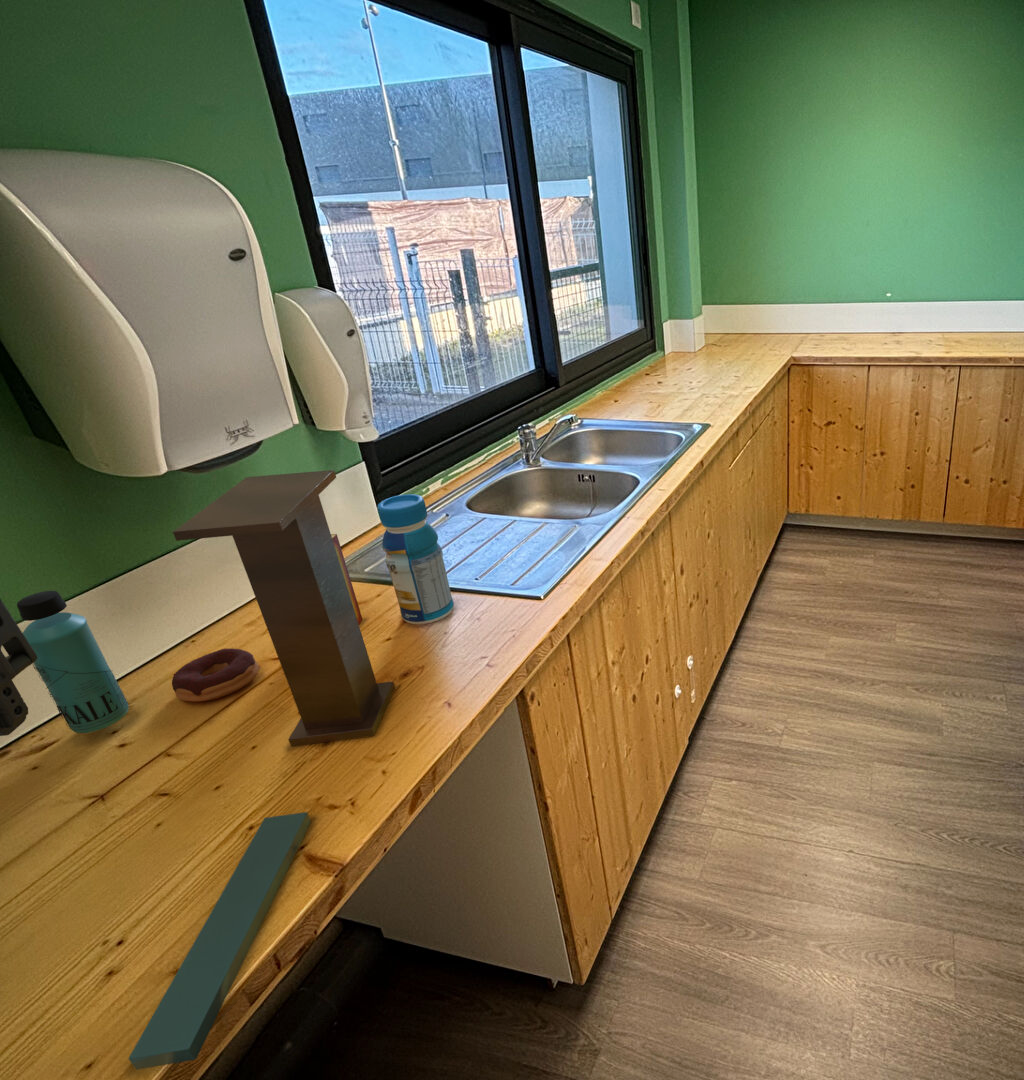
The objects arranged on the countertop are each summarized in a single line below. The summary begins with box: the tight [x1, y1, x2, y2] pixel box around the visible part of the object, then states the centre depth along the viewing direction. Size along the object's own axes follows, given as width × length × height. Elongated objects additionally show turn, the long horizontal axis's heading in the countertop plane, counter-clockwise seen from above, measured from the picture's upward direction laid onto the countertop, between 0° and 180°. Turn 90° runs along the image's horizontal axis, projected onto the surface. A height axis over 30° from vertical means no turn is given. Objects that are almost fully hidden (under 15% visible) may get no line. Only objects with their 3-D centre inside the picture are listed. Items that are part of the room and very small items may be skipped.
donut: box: [171, 648, 260, 703], centre depth 99 cm, size 10×10×4 cm
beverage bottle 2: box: [377, 493, 455, 625], centre depth 112 cm, size 8×8×20 cm
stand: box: [172, 469, 396, 747], centre depth 84 cm, size 16×10×32 cm, turn 8°
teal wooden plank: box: [128, 811, 312, 1071], centre depth 65 cm, size 24×4×2 cm, turn 8°
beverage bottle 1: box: [16, 590, 130, 734], centre depth 88 cm, size 6×7×20 cm
